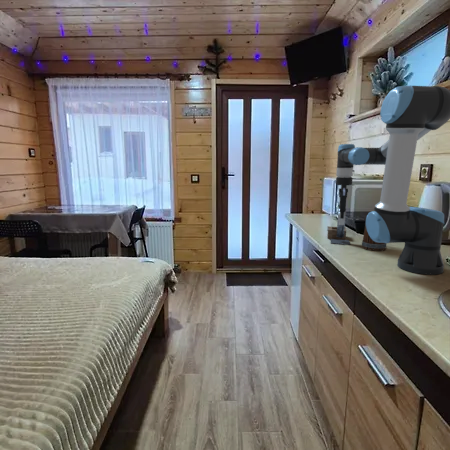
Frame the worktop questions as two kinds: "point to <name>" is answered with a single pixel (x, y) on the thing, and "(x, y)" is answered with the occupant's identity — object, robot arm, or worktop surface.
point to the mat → (340, 241)
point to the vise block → (334, 233)
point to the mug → (371, 243)
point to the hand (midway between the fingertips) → (341, 223)
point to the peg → (340, 228)
